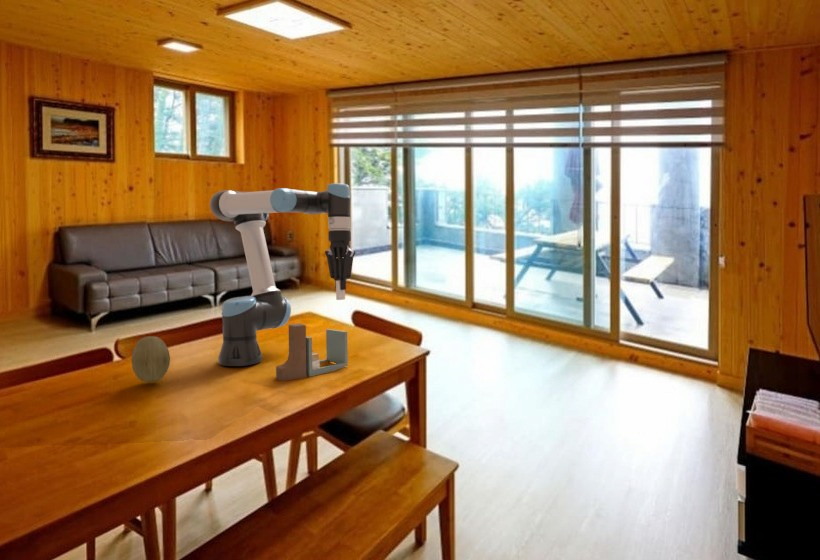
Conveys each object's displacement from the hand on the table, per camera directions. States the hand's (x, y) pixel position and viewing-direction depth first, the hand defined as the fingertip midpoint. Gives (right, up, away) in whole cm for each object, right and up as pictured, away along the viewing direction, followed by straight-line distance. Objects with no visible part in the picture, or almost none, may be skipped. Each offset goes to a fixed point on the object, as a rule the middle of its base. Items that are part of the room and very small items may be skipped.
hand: (340, 299), depth 187 cm
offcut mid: (-11, -23, +2) cm, 26 cm away
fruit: (-60, -27, -9) cm, 66 cm away
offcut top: (-11, -21, +2) cm, 24 cm away
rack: (-8, -25, +6) cm, 27 cm away
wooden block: (-16, -26, -5) cm, 31 cm away
